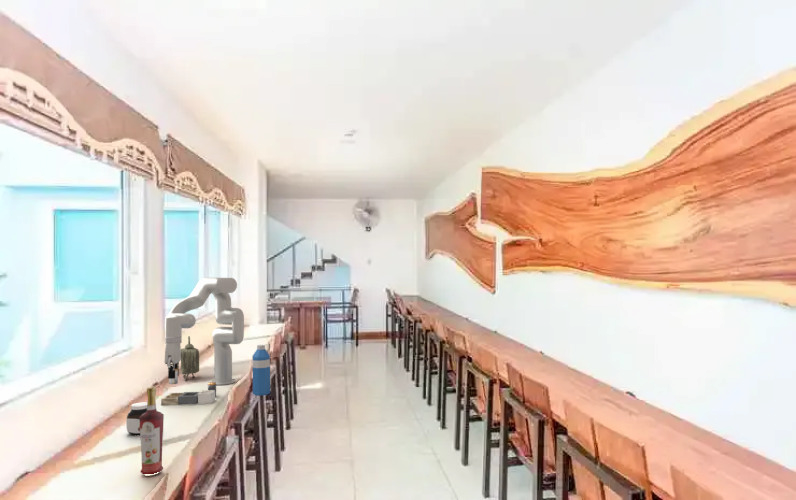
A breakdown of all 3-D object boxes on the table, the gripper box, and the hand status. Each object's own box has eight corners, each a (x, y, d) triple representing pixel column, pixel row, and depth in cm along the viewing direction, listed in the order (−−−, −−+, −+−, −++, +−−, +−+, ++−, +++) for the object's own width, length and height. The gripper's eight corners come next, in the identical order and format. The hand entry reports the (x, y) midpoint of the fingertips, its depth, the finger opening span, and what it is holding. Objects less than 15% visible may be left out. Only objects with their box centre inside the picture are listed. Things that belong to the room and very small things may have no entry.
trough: (170, 398, 285) (170, 392, 285) (186, 398, 286) (186, 392, 286) (161, 405, 273) (161, 398, 273) (177, 404, 274) (177, 398, 274)
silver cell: (170, 382, 281) (170, 368, 281) (179, 382, 281) (179, 368, 282) (167, 384, 277) (167, 370, 277) (176, 384, 277) (176, 369, 278)
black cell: (209, 395, 291) (209, 382, 291) (217, 395, 291) (217, 382, 291) (206, 397, 287) (206, 383, 287) (214, 397, 287) (214, 383, 287)
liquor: (167, 469, 189) (166, 385, 190) (159, 477, 182) (158, 390, 182) (145, 469, 189) (144, 385, 189) (135, 478, 182) (135, 390, 182)
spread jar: (125, 437, 225) (124, 407, 225) (130, 428, 236) (130, 400, 236) (157, 434, 228) (157, 405, 228) (161, 426, 239) (161, 398, 239)
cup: (202, 400, 281) (202, 390, 281) (215, 400, 281) (215, 390, 281) (198, 403, 275) (197, 393, 275) (211, 403, 275) (211, 393, 275)
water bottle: (273, 391, 299) (272, 343, 299) (267, 395, 290) (266, 346, 290) (255, 391, 300) (255, 343, 300) (249, 395, 291) (249, 346, 291)
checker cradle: (184, 399, 283) (184, 392, 283) (202, 399, 283) (202, 391, 283) (177, 404, 274) (177, 396, 274) (196, 404, 274) (196, 396, 274)
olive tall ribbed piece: (181, 377, 338) (180, 335, 338) (197, 375, 342) (196, 334, 342) (182, 382, 325) (182, 338, 325) (199, 380, 328) (199, 337, 329)
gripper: (172, 338, 288) (172, 374, 288) (159, 342, 271) (159, 381, 271) (186, 337, 288) (186, 374, 288) (175, 342, 272) (175, 380, 271)
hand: (173, 377), depth 279 cm, fingers closed on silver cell, 4 cm apart
